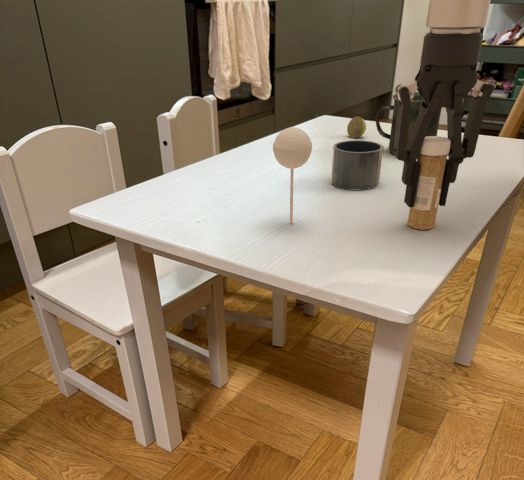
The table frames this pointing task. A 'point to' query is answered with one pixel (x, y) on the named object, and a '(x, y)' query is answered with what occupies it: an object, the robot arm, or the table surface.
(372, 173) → the tin
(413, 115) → the mug
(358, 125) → the lime
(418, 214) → the sprinkles bottle
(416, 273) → the table surface
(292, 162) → the lollipop
